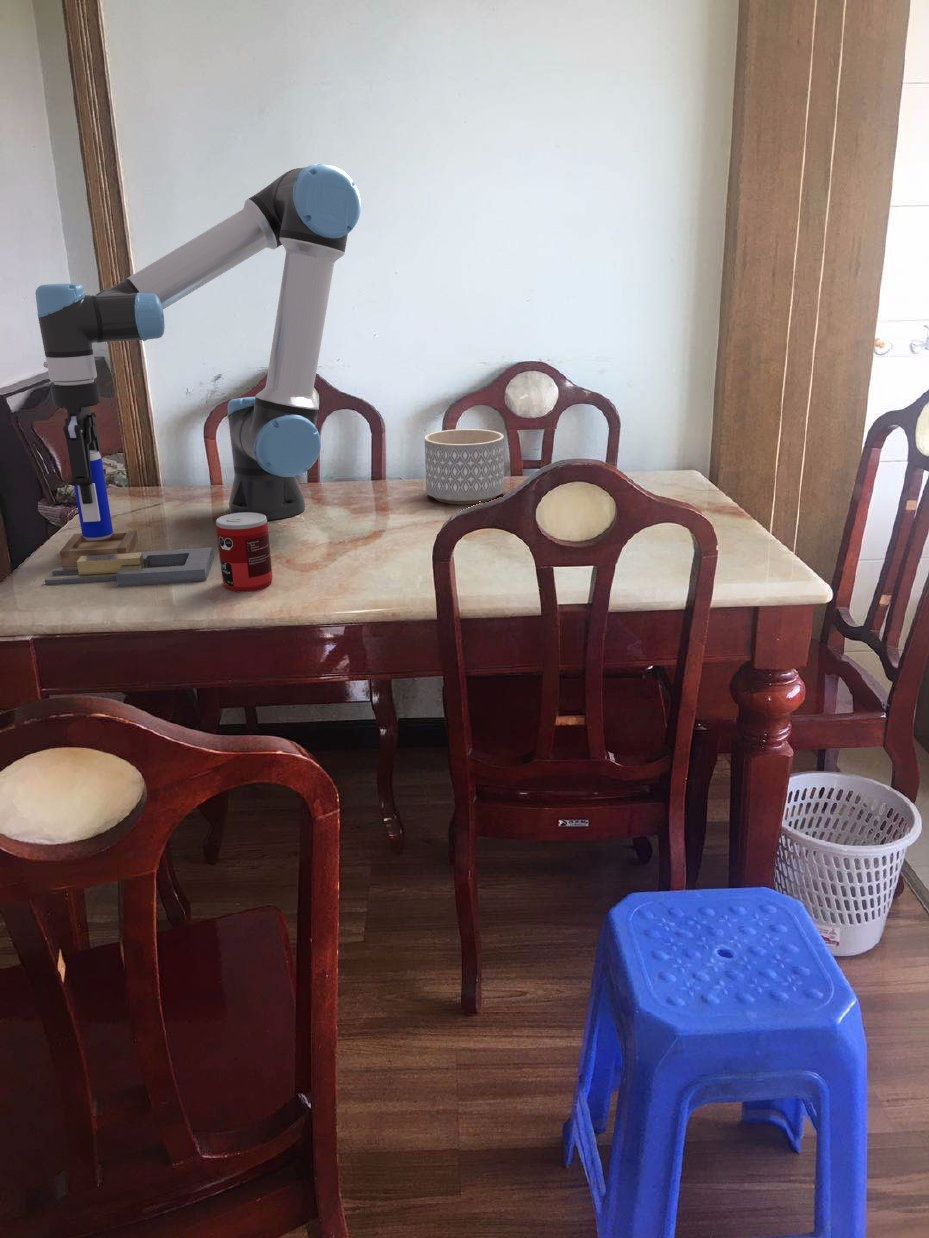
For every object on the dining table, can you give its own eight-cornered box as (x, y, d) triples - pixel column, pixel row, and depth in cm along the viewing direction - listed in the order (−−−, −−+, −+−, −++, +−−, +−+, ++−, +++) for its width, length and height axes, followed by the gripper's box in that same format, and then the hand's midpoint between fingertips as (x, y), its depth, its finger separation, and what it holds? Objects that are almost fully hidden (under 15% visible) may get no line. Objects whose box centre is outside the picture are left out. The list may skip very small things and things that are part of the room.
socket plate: (213, 558, 174) (211, 547, 173) (205, 580, 163) (204, 569, 162) (58, 567, 171) (56, 556, 170) (40, 591, 160) (38, 579, 159)
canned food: (226, 577, 164) (219, 513, 160) (275, 575, 165) (269, 511, 161) (219, 593, 157) (211, 526, 153) (270, 591, 158) (264, 524, 154)
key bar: (144, 569, 168) (142, 552, 167) (141, 575, 166) (139, 557, 165) (83, 573, 167) (80, 556, 166) (79, 579, 165) (76, 561, 163)
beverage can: (119, 534, 177) (107, 451, 172) (98, 542, 173) (84, 457, 167) (97, 531, 179) (84, 448, 174) (76, 539, 175) (62, 454, 169)
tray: (138, 544, 183) (136, 530, 182) (128, 562, 173) (125, 547, 172) (76, 547, 182) (74, 533, 181) (62, 566, 171) (59, 551, 170)
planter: (457, 483, 221) (455, 426, 216) (519, 493, 212) (519, 433, 207) (410, 499, 209) (408, 439, 204) (474, 510, 200) (473, 447, 195)
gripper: (63, 375, 174) (84, 504, 183) (35, 390, 157) (60, 532, 166) (107, 373, 175) (126, 502, 183) (85, 388, 158) (107, 529, 167)
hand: (95, 516), depth 175 cm, fingers closed on beverage can, 5 cm apart
